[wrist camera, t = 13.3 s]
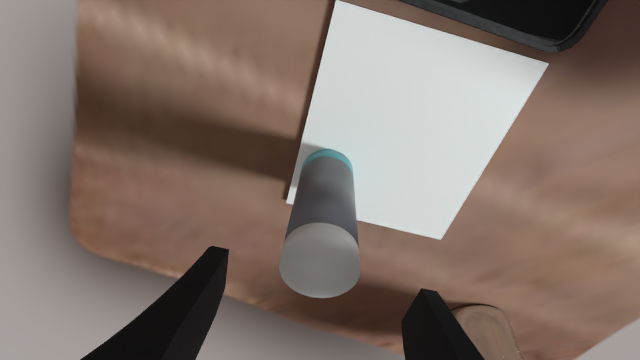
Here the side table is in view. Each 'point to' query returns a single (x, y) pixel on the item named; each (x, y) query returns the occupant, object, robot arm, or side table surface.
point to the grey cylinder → (322, 229)
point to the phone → (523, 19)
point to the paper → (411, 115)
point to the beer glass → (489, 331)
